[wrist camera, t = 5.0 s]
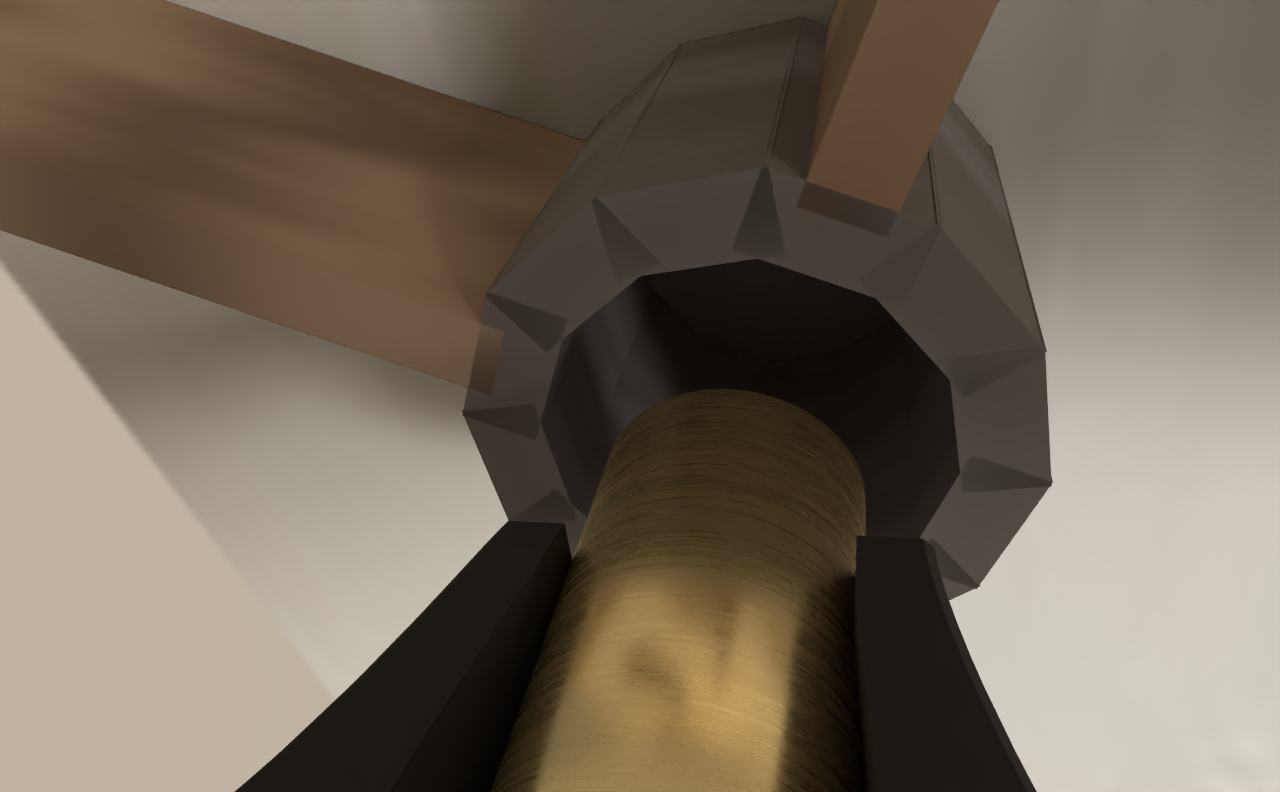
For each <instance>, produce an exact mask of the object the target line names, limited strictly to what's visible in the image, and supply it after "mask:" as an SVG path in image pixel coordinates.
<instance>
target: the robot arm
mask: <svg viewBox="0 0 1280 792" xmlns="http://www.w3.org/2000/svg"><path fill="white" fill-rule="evenodd" d="M571 563H572V556H571V552H570V547H569V542H568V538H567V533H566V528H565V524H564V523H547V522H524V521H508V522H507V523H506V524H505V525H504V526H503V527H502V528H501V529H500V530H499V531H498V532H497V533H496V534H495V535H494V536H493V537H492V538H491V539H490V540H489V541H488V542H487V543H486V544H485V545H484V546H483V548H482V549H481V550H480V551H479V552H478V553H477V554H476V555H475V556H474V557H473V558H472V559H471V560H470V562H469V563H468V564H467V565H466V566H465V567H464V568H463V569H462V570H461V571H460V572H459V573H458V575H457V576H456V577H455V578H454V579H453V580H452V581H451V582H450V583H449V584H448V585H447V586H446V587H445V589H444V590H443V591H442V592H441V593H440V594H439V595H438V596H437V597H436V598H435V599H434V600H433V601H432V602H431V604H430V605H429V606H428V607H427V608H426V609H425V610H424V611H423V612H422V613H421V614H420V615H419V616H418V617H417V618H416V619H415V621H414V622H413V623H412V624H411V625H410V626H409V627H408V628H407V629H406V630H405V631H404V632H403V633H402V634H401V635H400V636H399V637H398V638H397V639H396V640H395V641H394V642H393V643H392V644H391V645H390V646H389V647H388V648H387V649H386V650H385V651H384V652H383V653H382V654H381V655H380V656H379V658H378V659H377V660H376V661H375V662H374V663H373V664H372V665H371V666H370V667H369V668H368V669H367V670H366V671H365V672H364V673H363V674H362V675H361V676H360V677H359V678H358V679H357V680H356V681H355V682H354V683H353V684H352V685H351V686H350V687H349V688H348V689H347V690H346V691H345V692H344V693H342V694H341V695H340V696H339V697H338V698H337V699H336V700H335V701H334V702H333V703H332V704H331V705H330V706H329V707H328V708H327V709H326V710H324V711H323V712H322V713H321V714H320V715H319V716H318V717H317V718H316V719H315V720H314V721H313V722H312V723H311V724H310V725H309V726H308V727H306V728H305V729H304V730H303V731H302V732H301V733H300V734H299V735H298V736H297V737H296V738H295V739H294V740H293V741H292V742H291V743H289V744H288V745H287V746H286V747H285V748H284V749H283V750H282V751H281V752H280V753H279V754H277V755H276V756H275V757H274V758H273V759H272V760H271V761H270V762H269V763H267V764H266V765H265V766H264V767H263V768H262V769H261V770H259V771H258V772H257V773H256V774H255V775H254V776H253V777H251V778H250V779H249V780H248V781H247V782H246V783H244V784H243V785H242V786H241V787H240V788H239V789H237V790H236V791H235V792H491V789H492V786H493V783H494V780H495V777H496V775H497V772H498V769H499V766H500V763H501V760H502V758H503V755H504V752H505V749H506V746H507V744H508V741H509V738H510V735H511V732H512V729H513V727H514V724H515V721H516V718H517V715H518V712H519V710H520V707H521V704H522V701H523V698H524V695H525V693H526V690H527V687H528V684H529V681H530V679H531V676H532V673H533V670H534V667H535V664H536V662H537V659H538V656H539V653H540V650H541V647H542V645H543V642H544V639H545V636H546V633H547V630H548V628H549V625H550V622H551V619H552V616H553V614H554V611H555V608H556V605H557V602H558V599H559V597H560V594H561V591H562V588H563V585H564V582H565V580H566V577H567V574H568V571H569V568H570V565H571ZM855 669H856V682H857V695H858V710H859V725H860V739H861V755H862V778H863V792H1036V790H1035V788H1034V786H1033V784H1032V782H1031V780H1030V779H1029V777H1028V775H1027V773H1026V771H1025V769H1024V767H1023V765H1022V763H1021V761H1020V759H1019V757H1018V756H1017V754H1016V752H1015V750H1014V748H1013V746H1012V744H1011V742H1010V740H1009V737H1008V735H1007V733H1006V731H1005V729H1004V727H1003V725H1002V723H1001V721H1000V719H999V717H998V715H997V713H996V710H995V708H994V706H993V704H992V702H991V700H990V698H989V696H988V694H987V692H986V690H985V688H984V686H983V683H982V681H981V679H980V677H979V674H978V672H977V670H976V668H975V665H974V663H973V661H972V658H971V656H970V654H969V651H968V649H967V646H966V644H965V641H964V639H963V636H962V634H961V631H960V629H959V626H958V624H957V621H956V619H955V616H954V613H953V610H952V608H951V605H950V602H949V599H948V596H947V593H946V590H945V587H944V584H943V581H942V577H941V574H940V570H939V567H938V563H937V558H936V553H935V548H933V547H932V546H931V545H930V544H929V543H928V542H927V541H926V540H924V539H923V538H902V537H878V536H857V539H856V572H855Z"/></svg>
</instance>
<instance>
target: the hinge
mask: <svg viewBox="0 0 1280 792" xmlns="http://www.w3.org/2000/svg"><path fill="white" fill-rule="evenodd" d="M998 2H999V0H838V2H837V5H836V8H835V10H834V13H833V16H832V18H831V21H830V24H829V26H828V27H827V26H824V25H821V24H818V23H815V22H812V21H809V20H806V19H803V17H801V18H800V17H799V18H797V19H792V20H788V21H783V22H779V23H774V24H770V25H765V26H761V27H756V28H752V29H747V30H743V31H738V32H734V33H729V34H725V35H720V36H715V37H711V38H706V39H702V40H697V41H693V42H688V43H682V44H680V45H679V46H678V48H677V49H676V50H675V51H674V52H673V53H672V54H671V55H670V56H668V57H667V58H666V59H665V60H664V61H663V62H662V63H661V64H660V65H659V66H658V67H657V68H656V69H655V70H654V71H653V72H652V73H651V74H650V75H649V76H648V77H647V78H646V79H644V80H643V81H642V82H641V83H640V84H639V85H638V86H637V87H636V88H635V89H634V90H633V91H632V92H631V93H630V94H629V95H628V96H627V97H626V98H625V99H624V100H623V101H622V102H620V103H619V104H618V105H617V106H616V107H615V108H614V109H613V110H612V111H611V112H610V113H609V114H608V115H607V116H606V117H605V118H604V119H603V120H602V119H601V121H600V122H599V124H598V125H597V127H596V128H595V130H594V131H593V133H592V134H591V136H590V137H589V139H588V140H587V142H584V141H581V140H578V139H575V138H572V137H569V136H566V135H563V134H560V133H557V132H555V131H552V130H549V129H546V128H543V127H540V126H537V125H534V124H531V123H528V122H525V121H522V120H519V119H516V118H513V117H510V116H507V115H504V114H501V113H498V112H495V111H492V110H489V109H486V108H483V107H480V106H477V105H474V104H471V103H468V102H465V101H462V100H459V99H456V98H453V97H450V96H447V95H444V94H441V93H438V92H436V91H433V90H430V89H427V88H424V87H421V86H418V85H415V84H412V83H409V82H406V81H403V80H400V79H397V78H394V77H391V76H388V75H385V74H382V73H379V72H376V71H373V70H370V69H367V68H364V67H361V66H358V65H355V64H352V63H349V62H346V61H343V60H340V59H337V58H334V57H331V56H328V55H325V54H322V53H319V52H317V51H314V50H311V49H308V48H305V47H302V46H299V45H296V44H293V43H290V42H287V41H284V40H281V39H278V38H275V37H272V36H269V35H266V34H263V33H260V32H257V31H254V30H251V29H248V28H245V27H242V26H239V25H236V24H233V23H230V22H227V21H224V20H221V19H218V18H215V17H212V16H209V15H206V14H203V13H200V12H198V11H195V10H192V9H189V8H186V7H183V6H180V5H177V4H174V3H171V2H168V1H165V0H0V230H1V231H4V232H7V233H10V234H13V235H16V236H19V237H22V238H25V239H28V240H31V241H34V242H37V243H40V244H43V245H46V246H49V247H52V248H55V249H58V250H61V251H64V252H67V253H70V254H73V255H76V256H79V257H82V258H84V259H87V260H90V261H93V262H96V263H99V264H102V265H105V266H108V267H111V268H114V269H117V270H120V271H123V272H126V273H129V274H132V275H135V276H138V277H141V278H144V279H147V280H150V281H153V282H156V283H159V284H162V285H165V286H168V287H171V288H173V289H176V290H179V291H182V292H185V293H188V294H191V295H194V296H197V297H200V298H203V299H206V300H209V301H212V302H215V303H218V304H221V305H224V306H227V307H230V308H233V309H236V310H239V311H242V312H245V313H248V314H251V315H254V316H257V317H260V318H263V319H265V320H268V321H271V322H274V323H277V324H280V325H283V326H286V327H289V328H292V329H295V330H298V331H301V332H304V333H307V334H310V335H313V336H316V337H319V338H322V339H325V340H328V341H331V342H334V343H337V344H340V345H343V346H346V347H349V348H352V349H355V350H357V351H360V352H363V353H366V354H369V355H372V356H375V357H378V358H381V359H384V360H387V361H390V362H393V363H396V364H399V365H402V366H405V367H408V368H411V369H414V370H417V371H420V372H423V373H426V374H429V375H432V376H435V377H438V378H441V379H444V380H446V381H449V382H452V383H455V384H458V385H461V386H464V387H467V388H468V391H467V396H466V401H465V406H464V409H463V411H462V413H463V416H464V417H465V420H466V422H467V424H468V427H469V429H470V431H471V434H472V436H473V438H474V441H475V443H476V445H477V448H478V450H479V452H480V455H481V457H482V459H483V462H484V464H485V466H486V469H487V471H488V473H489V476H490V478H491V480H492V483H493V485H494V487H495V490H496V492H497V494H498V497H499V499H500V501H501V504H502V506H503V508H504V511H505V513H506V515H507V518H508V520H509V521H524V522H547V523H564V524H565V528H566V533H567V538H568V542H569V547H570V552H571V556H572V560H573V557H574V554H575V551H576V548H577V546H578V543H579V540H580V537H581V534H582V532H583V529H584V526H585V523H586V520H587V517H588V515H589V512H590V509H591V506H592V503H593V500H594V498H595V495H596V492H597V489H598V486H599V483H600V481H601V478H602V475H603V472H604V469H605V467H606V464H607V461H608V458H609V455H610V453H611V450H612V448H613V446H614V444H615V442H616V440H617V439H618V437H619V435H620V434H621V432H622V431H623V430H624V429H625V428H626V427H627V425H628V424H629V423H630V422H631V421H632V420H633V419H635V418H636V417H637V416H638V415H640V414H641V413H642V412H643V411H645V410H647V409H648V408H650V407H652V406H653V405H655V404H657V403H659V402H661V401H664V400H666V399H668V398H671V397H674V396H678V395H681V394H684V393H688V392H694V391H701V390H711V389H732V390H744V391H750V392H755V393H761V394H764V395H768V396H771V397H775V398H778V399H780V400H783V401H785V402H788V403H790V404H793V405H795V406H797V407H799V408H801V409H802V410H804V411H806V412H808V413H810V414H811V415H813V416H814V417H816V418H817V419H818V420H820V421H821V422H823V423H824V424H825V425H826V426H827V427H829V428H830V429H831V430H832V431H833V432H834V433H835V434H836V435H837V436H838V437H839V438H840V439H841V441H842V442H843V443H844V444H845V445H846V446H847V448H848V449H849V451H850V453H851V454H852V456H853V457H854V459H855V461H856V463H857V465H858V467H859V470H860V472H861V475H862V479H863V483H864V487H865V498H866V525H865V536H878V537H902V538H923V539H924V540H926V541H927V542H928V543H929V544H930V545H931V546H932V547H933V548H935V553H936V558H937V563H938V567H939V570H940V574H941V577H942V581H943V584H944V587H945V590H946V593H947V596H948V599H949V600H951V599H953V598H955V597H957V596H960V595H962V594H964V593H966V592H968V591H971V590H973V589H977V588H978V587H979V586H980V583H981V582H982V581H983V579H984V578H985V576H986V575H987V574H988V572H989V571H990V569H991V568H992V567H993V565H994V564H995V562H996V561H997V560H998V558H999V557H1000V555H1001V554H1002V553H1003V551H1004V550H1005V548H1006V547H1007V546H1008V544H1009V543H1010V541H1011V540H1012V539H1013V537H1014V536H1015V534H1016V533H1017V532H1018V530H1019V529H1020V527H1021V526H1022V525H1023V523H1024V522H1025V520H1026V519H1027V518H1028V516H1029V515H1030V513H1031V512H1032V511H1033V509H1034V508H1035V506H1036V505H1037V504H1038V502H1039V501H1040V499H1041V498H1042V497H1043V495H1044V494H1045V492H1046V491H1047V490H1048V488H1049V487H1050V486H1051V484H1052V483H1053V481H1052V477H1051V466H1050V445H1049V424H1048V403H1047V382H1046V361H1045V352H1047V351H1046V347H1045V343H1044V340H1043V336H1042V332H1041V328H1040V325H1039V321H1038V317H1037V313H1036V310H1035V306H1034V302H1033V299H1032V295H1031V291H1030V287H1029V284H1028V280H1027V276H1026V272H1025V269H1024V265H1023V261H1022V257H1021V254H1020V250H1019V246H1018V243H1017V239H1016V235H1015V231H1014V228H1013V224H1012V220H1011V216H1010V213H1009V209H1008V205H1007V201H1006V198H1005V194H1004V190H1003V187H1002V183H1001V179H1000V175H999V172H998V168H997V164H996V160H995V157H994V153H993V149H992V147H991V146H989V144H988V143H987V142H986V141H985V139H984V138H983V137H982V136H981V134H980V133H979V132H978V131H977V129H976V128H975V127H974V126H973V124H972V123H971V122H970V121H969V119H968V118H967V117H966V116H965V114H964V113H963V112H962V111H961V110H960V108H959V107H958V106H957V105H956V103H955V102H954V101H953V100H952V99H953V97H954V95H955V93H956V91H957V88H958V86H959V84H960V82H961V80H962V78H963V76H964V74H965V72H966V69H967V67H968V65H969V63H970V61H971V59H972V57H973V55H974V53H975V50H976V48H977V46H978V44H979V42H980V40H981V38H982V36H983V33H984V31H985V29H986V27H987V25H988V23H989V21H990V19H991V17H992V14H993V12H994V10H995V8H996V6H997V4H998ZM752 259H761V260H764V261H767V262H770V263H773V264H776V265H779V266H782V267H785V268H788V269H791V270H794V271H797V272H800V273H802V274H805V275H808V276H811V277H814V278H817V279H820V280H823V281H826V282H829V283H832V284H835V285H838V286H841V287H844V288H847V289H850V290H853V291H856V292H859V293H862V294H865V295H868V296H871V297H874V298H876V299H877V300H878V301H879V302H880V303H881V305H882V306H883V307H884V308H885V309H886V310H887V311H888V312H889V313H890V314H891V316H892V317H893V318H894V320H892V321H891V322H889V323H888V324H886V325H885V326H883V327H881V328H880V329H878V330H877V331H875V332H874V333H872V334H871V335H869V336H868V337H866V338H865V339H863V340H861V341H860V342H858V343H857V344H855V345H854V346H852V347H851V348H849V349H848V350H846V351H845V352H843V353H842V354H834V355H825V356H817V357H808V358H799V359H791V360H782V361H774V362H768V361H765V360H762V359H759V358H756V357H753V356H750V355H747V354H744V353H741V352H738V351H735V350H732V349H729V348H726V347H723V346H720V345H717V344H714V343H711V342H708V341H705V340H702V339H701V338H700V337H699V336H698V335H697V334H696V333H695V332H694V331H693V330H692V329H691V328H690V327H689V326H688V325H687V324H686V323H685V322H684V321H683V320H682V319H681V318H680V317H679V316H678V315H677V314H676V313H675V312H674V311H673V310H672V309H671V308H670V307H669V306H668V305H667V304H666V303H665V302H664V301H663V300H662V299H661V298H660V297H659V296H658V295H657V294H656V293H655V292H654V291H653V290H652V287H651V283H650V280H649V276H648V275H651V274H658V273H664V272H671V271H678V270H684V269H691V268H698V267H705V266H711V265H718V264H725V263H732V262H738V261H745V260H752Z"/></svg>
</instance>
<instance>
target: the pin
mask: <svg viewBox="0 0 1280 792" xmlns="http://www.w3.org/2000/svg"><path fill="white" fill-rule="evenodd" d="M865 525H866V498H865V487H864V483H863V479H862V475H861V472H860V470H859V467H858V465H857V463H856V461H855V459H854V457H853V456H852V454H851V453H850V451H849V449H848V448H847V446H846V445H845V444H844V443H843V442H842V441H841V439H840V438H839V437H838V436H837V435H836V434H835V433H834V432H833V431H832V430H831V429H830V428H829V427H827V426H826V425H825V424H824V423H823V422H821V421H820V420H818V419H817V418H816V417H814V416H813V415H811V414H810V413H808V412H806V411H804V410H802V409H801V408H799V407H797V406H795V405H793V404H790V403H788V402H785V401H783V400H780V399H778V398H775V397H771V396H768V395H764V394H761V393H755V392H750V391H744V390H732V389H711V390H701V391H694V392H688V393H684V394H681V395H678V396H674V397H671V398H668V399H666V400H664V401H661V402H659V403H657V404H655V405H653V406H652V407H650V408H648V409H647V410H645V411H643V412H642V413H641V414H640V415H638V416H637V417H636V418H635V419H633V420H632V421H631V422H630V423H629V424H628V425H627V427H626V428H625V429H624V430H623V431H622V432H621V434H620V435H619V437H618V439H617V440H616V442H615V444H614V446H613V448H612V450H611V453H610V455H609V458H608V461H607V464H606V467H605V469H604V472H603V475H602V478H601V481H600V483H599V486H598V489H597V492H596V495H595V498H594V500H593V503H592V506H591V509H590V512H589V515H588V517H587V520H586V523H585V526H584V529H583V532H582V534H581V537H580V540H579V543H578V546H577V548H576V551H575V554H574V557H573V560H572V563H571V565H570V568H569V571H568V574H567V577H566V580H565V582H564V585H563V588H562V591H561V594H560V597H559V599H558V602H557V605H556V608H555V611H554V614H553V616H552V619H551V622H550V625H549V628H548V630H547V633H546V636H545V639H544V642H543V645H542V647H541V650H540V653H539V656H538V659H537V662H536V664H535V667H534V670H533V673H532V676H531V679H530V681H529V684H528V687H527V690H526V693H525V695H524V698H523V701H522V704H521V707H520V710H519V712H518V715H517V718H516V721H515V724H514V727H513V729H512V732H511V735H510V738H509V741H508V744H507V746H506V749H505V752H504V755H503V758H502V760H501V763H500V766H499V769H498V772H497V775H496V777H495V780H494V783H493V786H492V789H491V792H863V778H862V755H861V739H860V725H859V710H858V695H857V682H856V669H855V572H856V539H857V536H865Z"/></svg>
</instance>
